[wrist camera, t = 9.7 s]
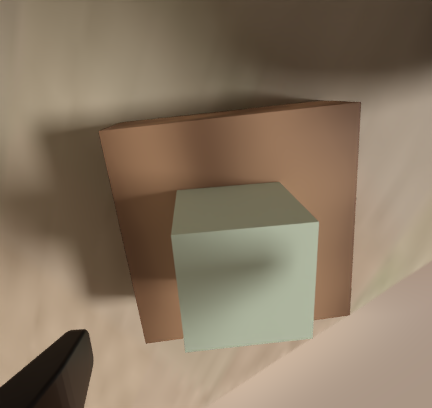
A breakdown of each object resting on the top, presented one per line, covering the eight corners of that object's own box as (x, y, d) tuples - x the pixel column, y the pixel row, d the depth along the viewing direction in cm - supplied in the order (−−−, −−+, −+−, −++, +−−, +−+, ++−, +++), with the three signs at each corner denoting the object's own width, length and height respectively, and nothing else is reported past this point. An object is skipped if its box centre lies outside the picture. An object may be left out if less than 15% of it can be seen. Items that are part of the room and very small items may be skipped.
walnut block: (318, 100, 19) (360, 102, 14) (317, 270, 23) (349, 315, 18) (121, 122, 19) (98, 131, 14) (155, 291, 23) (145, 343, 18)
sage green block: (279, 181, 15) (319, 221, 11) (278, 270, 17) (312, 338, 12) (176, 190, 15) (171, 235, 10) (186, 279, 17) (185, 352, 12)
